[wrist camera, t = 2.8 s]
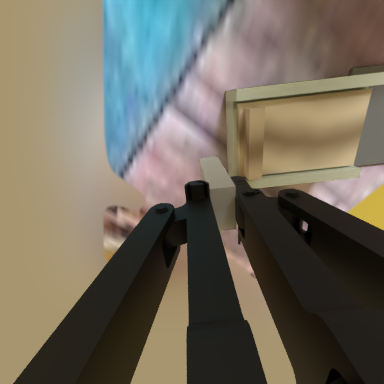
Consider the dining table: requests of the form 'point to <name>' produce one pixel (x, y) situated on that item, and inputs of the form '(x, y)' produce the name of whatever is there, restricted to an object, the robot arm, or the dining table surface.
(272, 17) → the dining table surface
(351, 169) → the sage box
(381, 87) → the rubber mat
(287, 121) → the cover plate
